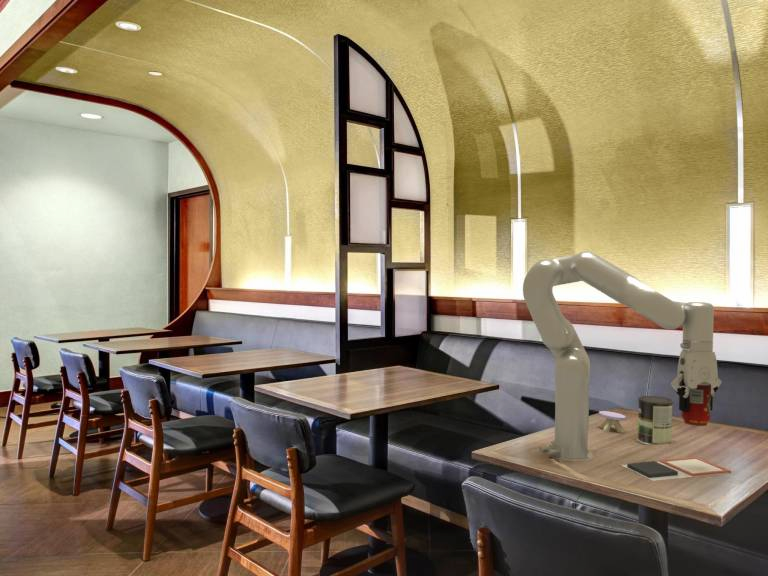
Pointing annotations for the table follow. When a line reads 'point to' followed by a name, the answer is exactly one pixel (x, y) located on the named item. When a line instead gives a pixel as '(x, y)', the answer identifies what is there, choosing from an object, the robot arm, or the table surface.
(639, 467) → the ink pad
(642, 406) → the coffee can
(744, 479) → the table surface
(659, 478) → the board
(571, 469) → the table surface
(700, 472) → the red bordered square panel
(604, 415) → the toy table
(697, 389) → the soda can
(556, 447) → the robot arm
